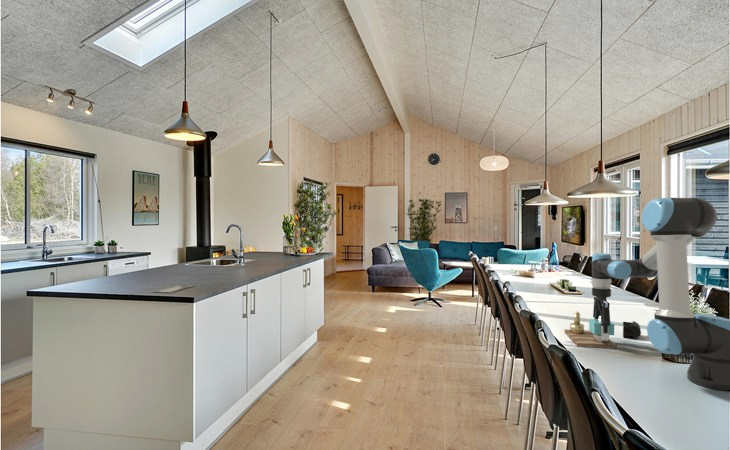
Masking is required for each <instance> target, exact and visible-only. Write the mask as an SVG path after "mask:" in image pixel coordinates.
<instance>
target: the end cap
mask: <svg viewBox="0 0 730 450" xmlns="http://www.w3.org/2000/svg"><path fill="white" fill-rule="evenodd" d="M622 326H623V327H622V338H623V339H625V338H626V339H627V340H636V339H638V338H639V337H640V336H641V335H642V331H641V327H640V324H639V323H638V322H637V321H634V320H633V321H632V322H629V321H622Z"/></svg>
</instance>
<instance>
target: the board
mask: <svg viewBox="0 0 730 450" xmlns="http://www.w3.org/2000/svg"><path fill="white" fill-rule="evenodd" d="M563 331H564V333H565V335H566V336H567V337H568V338H569V339H570V341H571V342H572V343H573V344H574V345H575V346H576V347H579V348H581V347H582V348H595V349H596V348H597V349H611V348H612V349H613V350H616V349H617V347H618V345H617V344H616V343H615V342H613V341H612V339H610V338H609V343H599V342H595V341H594V334H593V333H592V332H591V331H590V330H589V329H588V330H587V329H584V334H573V333H571V332H570V328H568V329H564V330H563ZM612 349H611V350H612Z"/></svg>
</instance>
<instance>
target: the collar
mask: <svg viewBox="0 0 730 450" xmlns="http://www.w3.org/2000/svg"><path fill="white" fill-rule="evenodd" d="M606 323H607V322H606ZM600 324H602V323H598V319H594V318H589V319H588V330H590V331H591V332H592V333H593V334H597V335H601V325H600ZM610 324H611V325H610V326H608V335H609V336H615V323H613V322H612V321H611V320H610Z"/></svg>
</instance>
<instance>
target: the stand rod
mask: <svg viewBox="0 0 730 450" xmlns="http://www.w3.org/2000/svg"><path fill="white" fill-rule="evenodd" d="M598 323H602V320H601V316H599V317H598ZM609 339H610V335H608V340H601V335H597V334H594V341H595V342H599V343H609Z"/></svg>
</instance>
